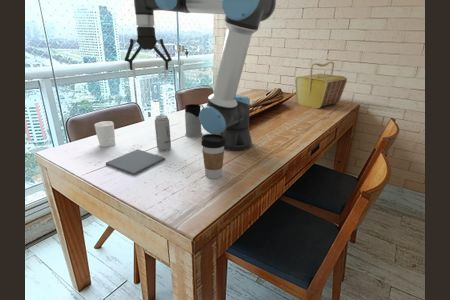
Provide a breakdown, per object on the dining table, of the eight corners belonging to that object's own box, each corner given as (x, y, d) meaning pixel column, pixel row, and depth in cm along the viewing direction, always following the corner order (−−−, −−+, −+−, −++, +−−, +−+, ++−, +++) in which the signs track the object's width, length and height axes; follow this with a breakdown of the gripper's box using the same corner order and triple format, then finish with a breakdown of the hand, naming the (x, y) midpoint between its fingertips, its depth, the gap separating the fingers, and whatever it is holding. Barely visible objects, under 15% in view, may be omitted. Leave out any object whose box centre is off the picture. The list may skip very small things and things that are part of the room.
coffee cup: (202, 170, 103) (201, 132, 97) (224, 169, 103) (224, 132, 98) (202, 181, 95) (201, 141, 89) (226, 180, 96) (226, 140, 90)
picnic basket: (313, 98, 220) (318, 60, 209) (343, 104, 202) (351, 62, 191) (291, 104, 203) (295, 62, 191) (322, 111, 185) (329, 65, 173)
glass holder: (181, 135, 137) (180, 106, 131) (197, 128, 149) (196, 101, 143) (196, 138, 133) (195, 109, 127) (210, 130, 145) (210, 103, 139)
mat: (165, 159, 111) (164, 157, 110) (134, 175, 98) (133, 173, 98) (137, 151, 118) (137, 149, 118) (106, 164, 106) (105, 162, 106)
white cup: (110, 148, 121) (106, 127, 117) (94, 146, 123) (90, 125, 119) (120, 142, 128) (116, 121, 125) (105, 140, 130) (101, 120, 126)
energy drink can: (168, 152, 118) (165, 119, 112) (155, 151, 119) (151, 118, 113) (173, 147, 123) (170, 115, 117) (160, 146, 124) (157, 114, 118)
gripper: (175, 27, 121) (177, 75, 130) (116, 26, 117) (122, 76, 125) (175, 26, 115) (178, 78, 123) (113, 25, 110) (120, 79, 118)
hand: (150, 77), depth 124 cm, fingers open, 13 cm apart
